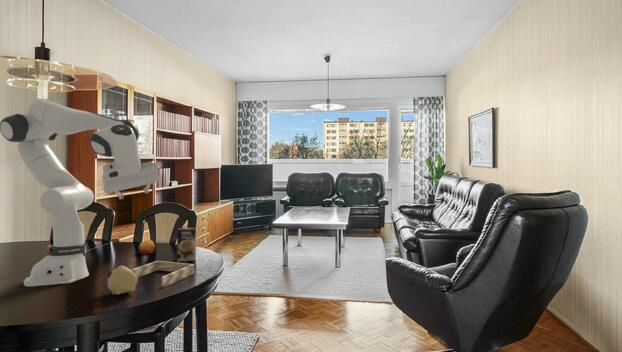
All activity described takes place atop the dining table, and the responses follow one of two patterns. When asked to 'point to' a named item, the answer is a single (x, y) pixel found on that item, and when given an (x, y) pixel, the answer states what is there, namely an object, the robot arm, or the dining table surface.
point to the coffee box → (186, 244)
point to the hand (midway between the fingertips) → (134, 195)
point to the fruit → (147, 247)
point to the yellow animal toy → (121, 280)
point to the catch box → (177, 270)
